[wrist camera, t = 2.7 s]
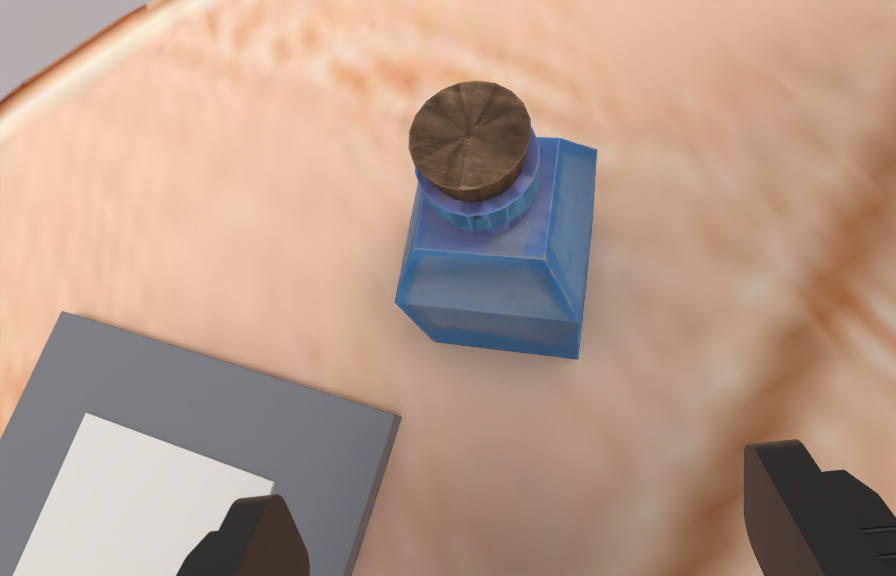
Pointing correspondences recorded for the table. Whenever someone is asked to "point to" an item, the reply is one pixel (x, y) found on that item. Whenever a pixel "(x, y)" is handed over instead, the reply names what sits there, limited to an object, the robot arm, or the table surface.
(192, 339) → the table surface
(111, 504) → the mat
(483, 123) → the perfume bottle
